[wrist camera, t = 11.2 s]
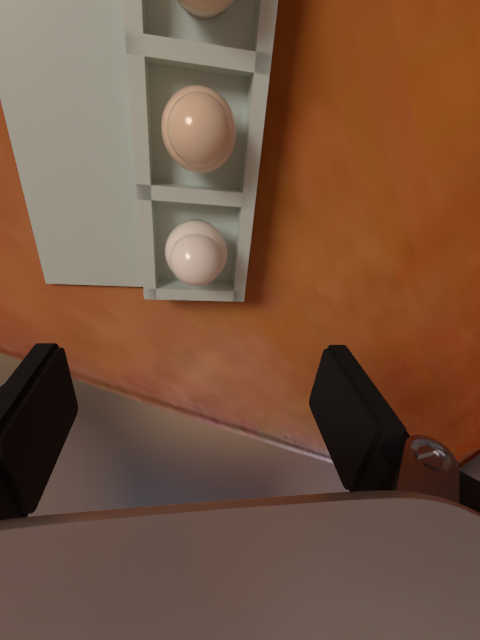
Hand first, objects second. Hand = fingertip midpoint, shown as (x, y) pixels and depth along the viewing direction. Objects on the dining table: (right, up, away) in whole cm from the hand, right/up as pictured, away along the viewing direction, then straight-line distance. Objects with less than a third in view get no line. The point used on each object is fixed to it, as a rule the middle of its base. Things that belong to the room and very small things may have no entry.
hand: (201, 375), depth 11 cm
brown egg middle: (-1, +16, +11) cm, 19 cm away
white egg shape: (-2, +9, +15) cm, 17 cm away
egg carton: (-6, +16, +11) cm, 20 cm away
